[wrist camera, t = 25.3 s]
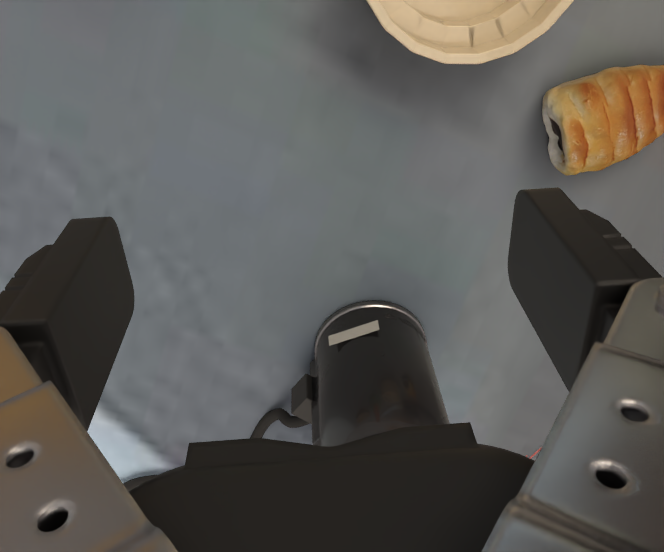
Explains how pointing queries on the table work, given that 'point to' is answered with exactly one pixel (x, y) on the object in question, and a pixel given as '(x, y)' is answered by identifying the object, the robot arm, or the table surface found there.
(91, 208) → the table surface
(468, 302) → the table surface
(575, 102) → the pastry
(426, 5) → the oatmeal bowl
